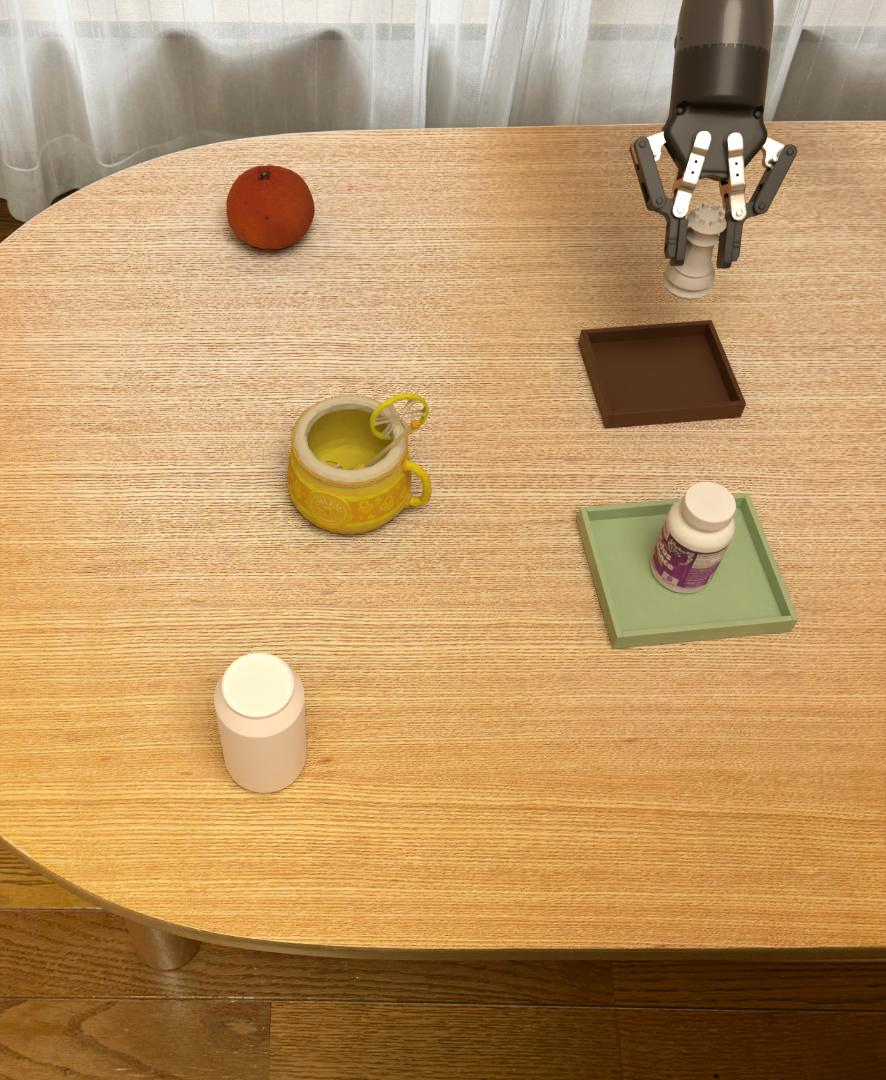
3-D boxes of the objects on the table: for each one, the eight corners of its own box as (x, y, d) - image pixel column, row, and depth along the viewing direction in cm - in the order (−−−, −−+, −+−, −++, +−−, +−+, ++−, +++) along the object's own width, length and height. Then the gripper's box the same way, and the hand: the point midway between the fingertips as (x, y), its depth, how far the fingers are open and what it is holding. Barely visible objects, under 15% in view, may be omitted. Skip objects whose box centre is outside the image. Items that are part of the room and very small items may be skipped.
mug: (268, 523, 101) (261, 432, 92) (314, 433, 107) (312, 339, 98) (408, 566, 99) (416, 478, 89) (447, 472, 105) (459, 379, 95)
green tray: (742, 505, 103) (748, 492, 102) (791, 631, 96) (798, 619, 94) (576, 520, 102) (579, 507, 101) (612, 649, 95) (617, 637, 93)
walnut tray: (706, 333, 116) (711, 319, 114) (740, 417, 109) (746, 403, 108) (577, 343, 115) (581, 329, 113) (604, 428, 108) (608, 415, 107)
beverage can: (314, 789, 87) (311, 716, 78) (231, 805, 87) (218, 733, 77) (299, 715, 91) (294, 636, 81) (219, 730, 90) (205, 652, 80)
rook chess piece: (689, 310, 101) (714, 237, 95) (650, 282, 103) (671, 209, 97) (722, 286, 103) (748, 214, 96) (682, 260, 105) (705, 187, 98)
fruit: (219, 258, 121) (212, 194, 114) (242, 203, 126) (237, 140, 119) (302, 272, 120) (300, 208, 113) (322, 216, 125) (322, 153, 118)
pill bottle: (636, 555, 100) (662, 485, 92) (689, 535, 101) (719, 465, 93) (670, 605, 97) (700, 537, 89) (725, 584, 98) (759, 515, 90)
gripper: (645, 35, 92) (625, 260, 95) (826, 43, 92) (799, 269, 95) (626, 57, 99) (608, 265, 103) (793, 65, 99) (770, 273, 102)
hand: (700, 265), depth 99 cm, fingers closed on rook chess piece, 3 cm apart
